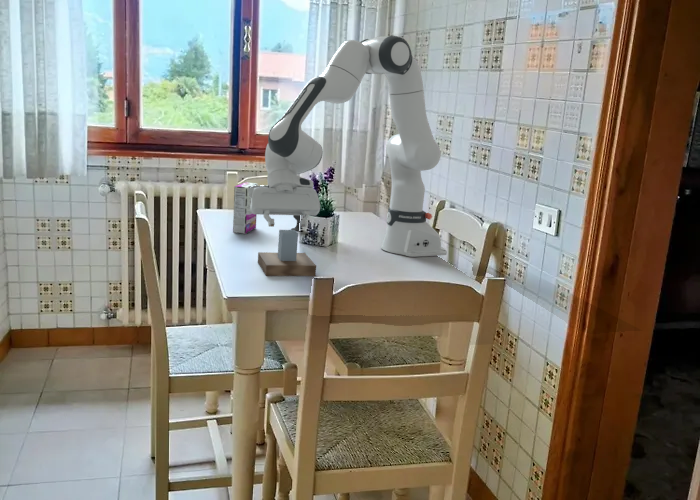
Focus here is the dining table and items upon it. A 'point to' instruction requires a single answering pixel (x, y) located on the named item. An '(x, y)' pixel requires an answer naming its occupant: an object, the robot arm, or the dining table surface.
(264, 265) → the block
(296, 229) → the sundae
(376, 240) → the dining table surface
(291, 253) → the slate block
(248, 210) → the candy bar box
